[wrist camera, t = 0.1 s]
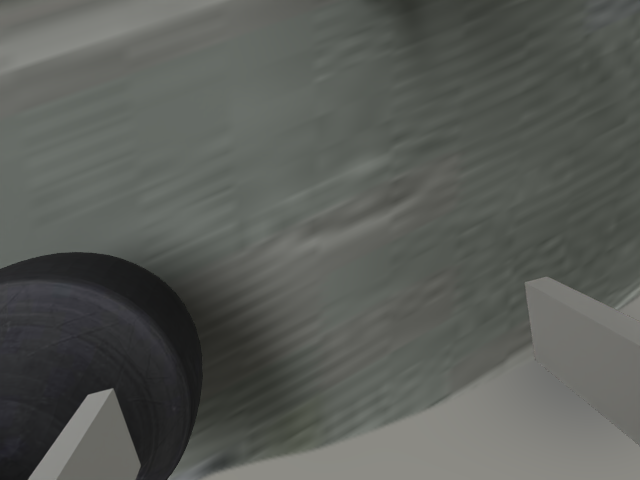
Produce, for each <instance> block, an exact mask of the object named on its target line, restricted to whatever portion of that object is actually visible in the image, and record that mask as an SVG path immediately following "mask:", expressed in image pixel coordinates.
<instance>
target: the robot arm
mask: <svg viewBox="0 0 640 480" xmlns="http://www.w3.org/2000/svg"><path fill="white" fill-rule="evenodd" d="M524 283H525V290H526V297H527V304H528V312H529V319H530V326H531V334H532V341H533V348H534V356H535V360H536V361H537V362H538V363H539V364H540V365H542V366H543V367H544V368H545V369H547V370H548V371H549V372H550V373H551V374H553V375H554V376H555V377H556V378H558V379H559V380H560V381H561V382H562V383H564V384H565V385H566V386H567V387H569V388H570V389H571V390H572V391H573V392H575V393H576V394H577V395H578V396H580V397H581V398H582V399H583V400H584V401H586V402H587V403H588V404H589V405H591V406H592V407H593V408H594V409H595V410H597V411H598V412H599V413H600V414H601V415H603V416H604V417H605V418H606V419H608V420H609V421H610V422H611V423H612V424H614V425H615V426H616V427H617V428H619V429H620V430H621V431H622V432H623V433H625V434H626V435H627V436H628V437H630V438H631V439H632V440H633V441H635V442H636V443H637V444H638V445H640V321H638V320H636V319H634V318H632V317H630V316H628V315H626V314H624V313H622V312H620V311H618V310H615V309H613V308H611V307H609V306H607V305H605V304H603V303H601V302H599V301H597V300H595V299H593V298H591V297H589V296H587V295H584V294H582V293H580V292H578V291H576V290H574V289H572V288H570V287H568V286H566V285H564V284H562V283H560V282H558V281H556V280H553V279H551V278H549V277H543V278H539V279H536V280H532V281H528V282H524ZM140 467H141V464H140V461H139V459H138V456H137V453H136V450H135V447H134V445H133V442H132V439H131V436H130V434H129V431H128V428H127V425H126V422H125V420H124V417H123V414H122V411H121V408H120V406H119V403H118V400H117V397H116V394H115V392H114V389H113V388H112V389H108V390H104V391H101V392H97V393H93V394H89V395H87V397H86V398H85V400H84V401H83V403H82V404H81V405H80V407H79V408H78V410H77V411H76V412H75V414H74V415H73V417H72V418H71V419H70V421H69V422H68V424H67V425H66V426H65V428H64V429H63V431H62V432H61V434H60V435H59V436H58V438H57V439H56V441H55V442H54V443H53V445H52V446H51V448H50V449H49V450H48V452H47V453H46V455H45V456H44V458H43V459H42V460H41V462H40V463H39V465H38V466H37V467H36V469H35V470H34V472H33V473H32V474H31V476H30V477H29V479H28V480H136V477H137V474H138V472H139V469H140Z"/></svg>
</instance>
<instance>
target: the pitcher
mask: <svg viewBox="0 0 640 480" xmlns="http://www.w3.org/2000/svg"><path fill="white" fill-rule="evenodd" d="M201 387H202V353H201V347H200V342H199V339H198V335H197V331H196V328H195V325H194V323H193V320H192V318H191V316H190V314H189V313H188V311H187V309H186V307H185V305H184V304H183V302H182V301H181V300H180V298H179V297H178V295H177V294H176V293H175V292H174V291H173V290H172V289H171V288H170V287H169V286H168V285H167V284H166V283H165V282H163V281H162V280H161V279H160V278H159V277H157V276H156V275H154V274H153V273H151V272H149V271H148V270H146V269H144V268H142V267H140V266H138V265H136V264H134V263H131V262H129V261H126V260H123V259H121V258H117V257H113V256H110V255H104V254H97V253H83V252H72V253H57V254H51V255H45V256H39V257H36V258H32V259H28V260H24V261H21V262H18V263H15V264H12V265H10V266H7V267H4V268H2V269H0V480H28V479H29V477H30V476H31V474H32V473H33V472H34V470H35V469H36V467H37V466H38V465H39V463H40V462H41V460H42V459H43V458H44V456H45V455H46V453H47V452H48V450H49V449H50V448H51V446H52V445H53V443H54V442H55V441H56V439H57V438H58V436H59V435H60V434H61V432H62V431H63V429H64V428H65V426H66V425H67V424H68V422H69V421H70V419H71V418H72V417H73V415H74V414H75V412H76V411H77V410H78V408H79V407H80V405H81V404H82V403H83V401H84V400H85V398H86V397H87V395H89V394H93V393H97V392H101V391H104V390H108V389H112V388H113V389H114V392H115V394H116V397H117V400H118V403H119V406H120V408H121V411H122V414H123V417H124V420H125V422H126V425H127V428H128V431H129V434H130V436H131V439H132V442H133V445H134V447H135V450H136V453H137V456H138V459H139V461H140V464H141V467H140V469H139V472H138V474H137V477H136V480H167V479H168V477H169V476H170V475H171V474H172V472H173V471H174V469H175V468H176V466H177V465H178V463H179V461H180V459H181V457H182V455H183V453H184V451H185V449H186V447H187V444H188V441H189V439H190V436H191V433H192V430H193V427H194V423H195V419H196V416H197V411H198V406H199V401H200V395H201Z"/></svg>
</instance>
